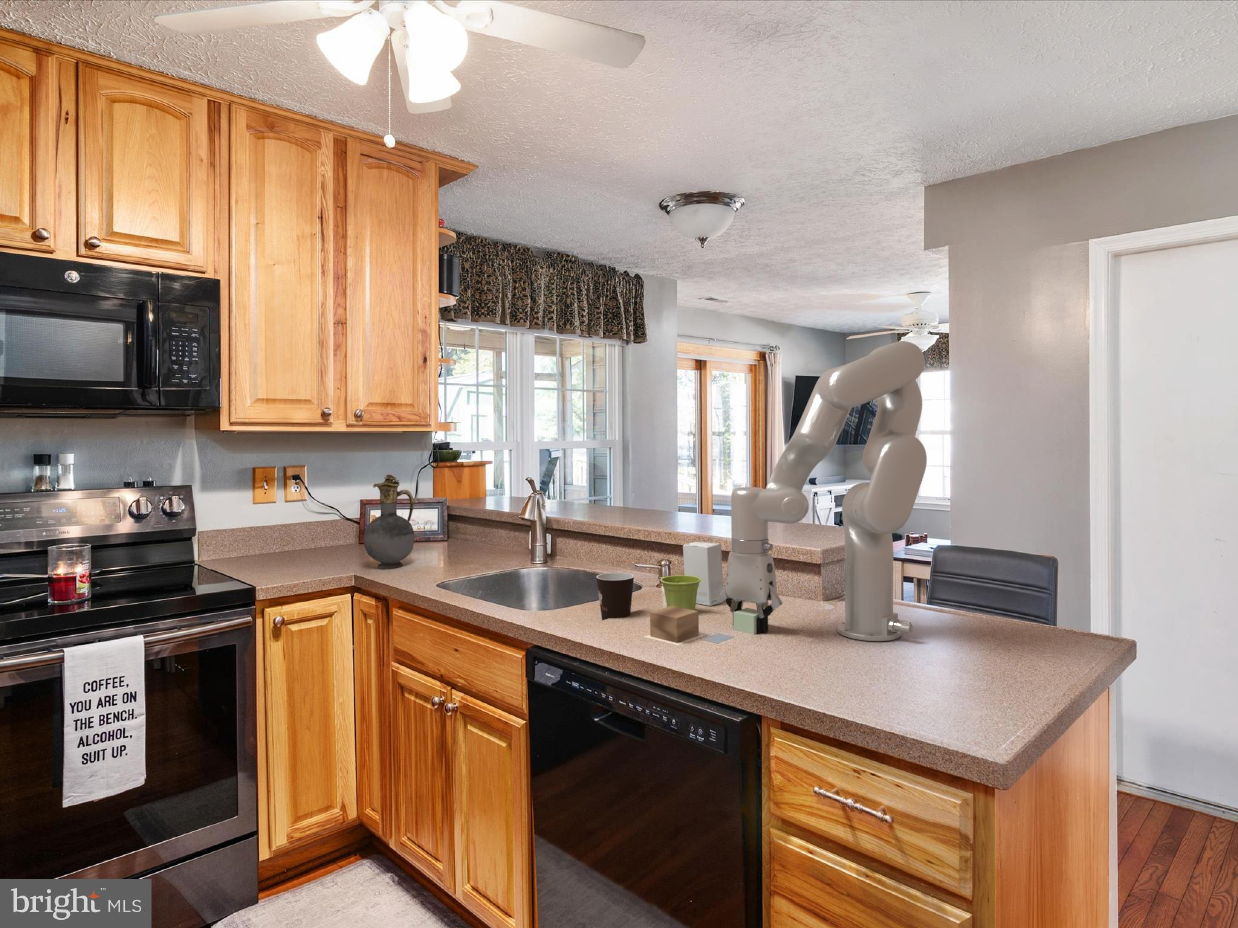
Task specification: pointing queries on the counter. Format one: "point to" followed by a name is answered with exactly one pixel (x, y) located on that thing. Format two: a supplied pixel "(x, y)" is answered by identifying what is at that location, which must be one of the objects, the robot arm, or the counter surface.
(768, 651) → the counter surface
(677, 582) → the plant pot
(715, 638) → the blueprint board
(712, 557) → the skincare box
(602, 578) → the coffee mug
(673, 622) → the walnut block
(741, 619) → the sage cube
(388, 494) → the pitcher
